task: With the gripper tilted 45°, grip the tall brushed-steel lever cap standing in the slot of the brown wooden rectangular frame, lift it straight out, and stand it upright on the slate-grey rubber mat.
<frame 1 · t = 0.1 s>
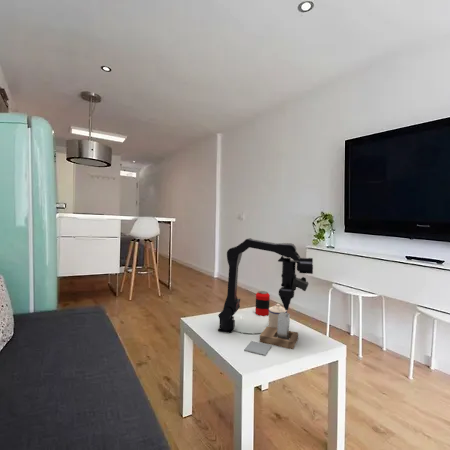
hand: (287, 306, 128), 15 cm above the table, tool pointing down, fingers open, 9 cm apart
brown wooden rectangular frame: (283, 341, 126), on the table
teacup with lid: (278, 326, 142), on the table
rubber mat: (258, 348, 119), on the table
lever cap: (283, 328, 126), in the brown wooden rectangular frame
soda can: (262, 314, 160), on the table
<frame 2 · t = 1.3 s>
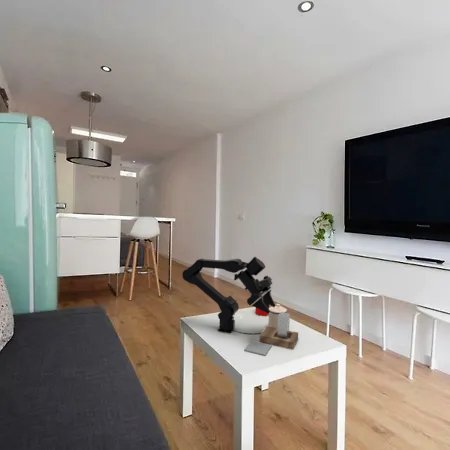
hand: (271, 309, 128), 13 cm above the table, tool tilted 45°, fingers open, 9 cm apart
nothing on the table moved.
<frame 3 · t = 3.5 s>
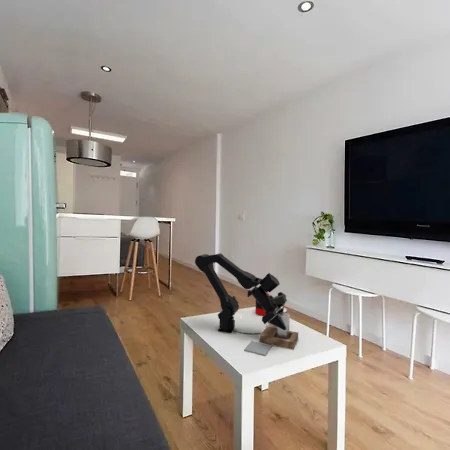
hand: (286, 327, 125), 7 cm above the table, tool tilted 45°, fingers closed on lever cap, 5 cm apart
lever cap: (283, 328, 126), in the brown wooden rectangular frame, touching gripper
everything else where it was.
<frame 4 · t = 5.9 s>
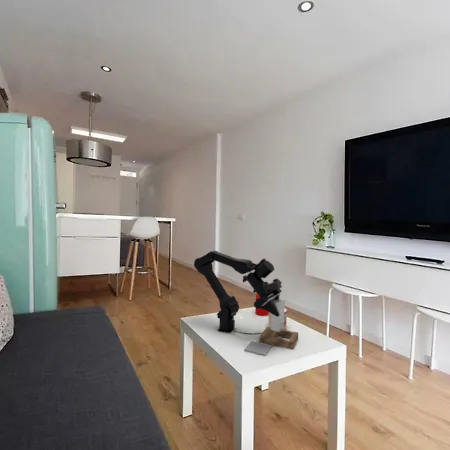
hand: (280, 314, 122), 13 cm above the table, tool tilted 45°, fingers closed on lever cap, 5 cm apart
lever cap: (277, 315, 122), point 13 cm above the table, touching gripper
everything else where it was.
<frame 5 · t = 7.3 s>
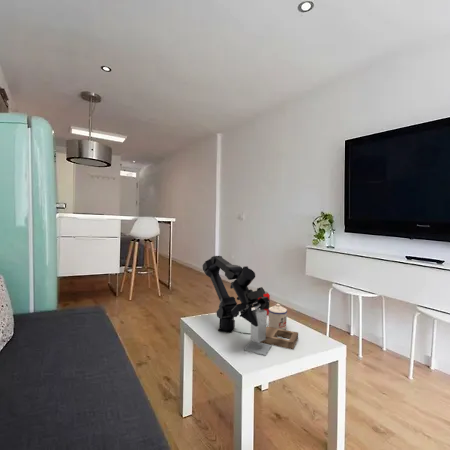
hand: (261, 324, 117), 11 cm above the table, tool tilted 45°, fingers closed on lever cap, 5 cm apart
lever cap: (258, 325, 118), point 10 cm above the table, touching gripper
everything else where it was.
when the fingers open (8 cm above the table, at t = 8.5 s): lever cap drops 1 cm, resting on rubber mat.
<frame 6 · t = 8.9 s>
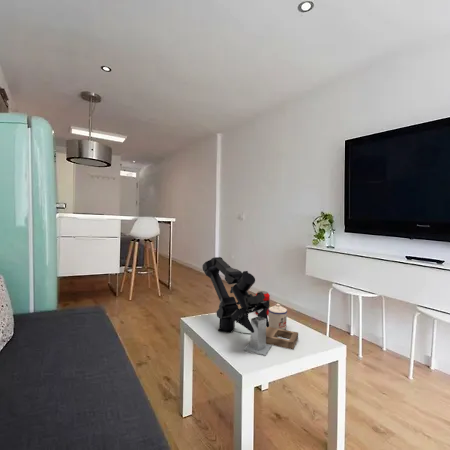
hand: (261, 329, 117), 9 cm above the table, tool tilted 45°, fingers open, 9 cm apart
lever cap: (258, 333, 119), on the rubber mat
everything else where it was.
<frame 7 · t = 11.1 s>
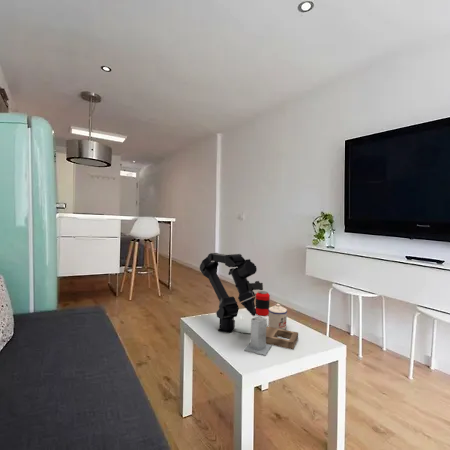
hand: (254, 314, 124), 12 cm above the table, tool tilted 30°, fingers open, 9 cm apart
nothing on the table moved.
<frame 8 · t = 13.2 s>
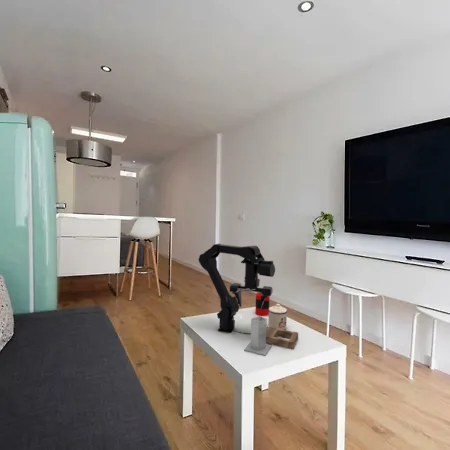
hand: (250, 307, 130), 13 cm above the table, tool pointing down, fingers open, 9 cm apart
nothing on the table moved.
at the end: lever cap 0.0 cm off-centre on the rubber mat, point 6.5 cm above the rubber mat's base; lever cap tilted 0°; the gripper is holding nothing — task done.
